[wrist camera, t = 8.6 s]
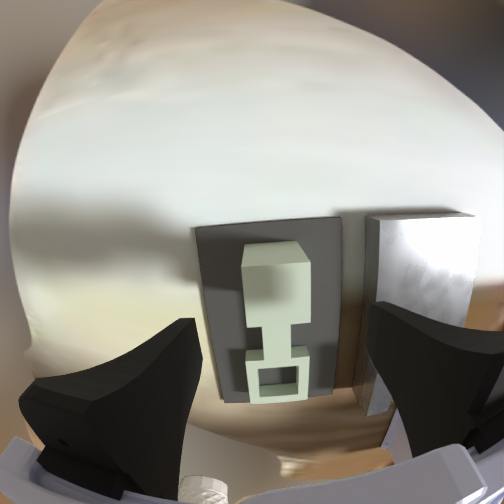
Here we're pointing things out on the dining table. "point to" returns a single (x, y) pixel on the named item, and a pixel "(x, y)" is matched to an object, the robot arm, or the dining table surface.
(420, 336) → the robot arm
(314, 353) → the black mat
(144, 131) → the dining table surface
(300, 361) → the sage hook
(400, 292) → the vise
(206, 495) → the white cup
